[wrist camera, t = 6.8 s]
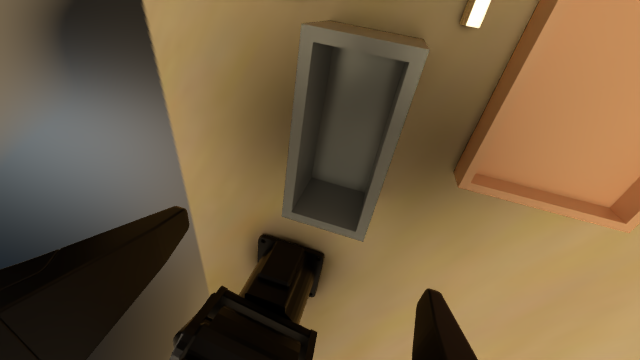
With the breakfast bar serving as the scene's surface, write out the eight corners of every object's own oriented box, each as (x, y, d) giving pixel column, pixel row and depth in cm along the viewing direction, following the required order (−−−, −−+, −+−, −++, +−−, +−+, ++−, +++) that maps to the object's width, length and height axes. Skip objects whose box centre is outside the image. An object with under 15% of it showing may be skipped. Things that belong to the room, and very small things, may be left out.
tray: (607, 211, 17) (629, 232, 15) (453, 171, 18) (457, 187, 17) (951, -143, 9) (1078, -180, 7) (625, -171, 10) (668, -206, 8)
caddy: (371, 196, 21) (363, 241, 17) (305, 177, 22) (281, 216, 18) (423, 39, 15) (429, 49, 11) (329, 20, 16) (301, 23, 12)
